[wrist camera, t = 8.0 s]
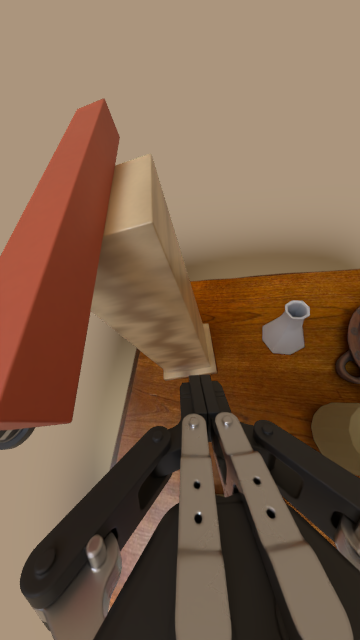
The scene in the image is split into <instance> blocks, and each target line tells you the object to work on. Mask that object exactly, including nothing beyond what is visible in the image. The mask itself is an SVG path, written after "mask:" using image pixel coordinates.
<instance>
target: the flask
mask: <svg viewBox="0 0 360 640" xmlns="http://www.w3.org/2000/svg"><path fill="white" fill-rule="evenodd" d="M308 316H310V309H309V306H308V305H307V304H305V303H304V302H303V301H291V302H289V303H287V304H286V305H285V312H284V313H283V314H282V315H281V316H280V317H279V318H277V319H275V320H273V321H271V322H270V323H268V324H266V325H264V326H263V338H262V340H263V341H264V343H265V344H266V345H267V346H268V348H269V349H270V350H271V351H272V353H280V354H289V355H291V354H292V353H294V352H296V351H298V350H300V349H301V348H303V347H304V335H303V328H302V324H303V320H304V319H305V318H307V317H308Z"/></svg>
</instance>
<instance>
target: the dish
mask: <svg viewBox="0 0 360 640" xmlns="http://www.w3.org/2000/svg"><path fill="white" fill-rule="evenodd" d="M347 338H348V345H349V350H348V351H347V352H346V353H345V354H343V355H342V356H341V357H340V358H339V359H338V360H337V362H336V371H337V373H338V374H339V375H340V376H341V377H342V378H343V379H345V380H346V381H349V382H351V383H356V384H360V377H354V376H351V375H350V374H349V373H347V371H346V370H345V364H346V363H347V362H348V361H353V362H354V363H355V364H356V365H357V366H358V367H359V369H360V306H359V307H358V308H357V309H356V311H355V312H354V313H353V315H352V317H351V319H350V322H349V326H348V336H347Z"/></svg>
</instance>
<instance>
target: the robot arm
mask: <svg viewBox="0 0 360 640" xmlns="http://www.w3.org/2000/svg"><path fill="white" fill-rule="evenodd" d="M180 405H181V421H180V422H179V424H178V425H176V426H175V427H173V428H170V429H167V428H165V427H163V426H156V427H153V428H151V429H150V430H149V431H148V432H147V433H146V434H145V435H144V436H143V437H142V438H141V439H140V440H139V441H138V442H137V443H136V444H135V445H134V446H133V447H132V448H131V449H130V450H129V451H128V452H127V453H126V454H125V455H124V456H123V458H122V459H121V460H120V461H119V462H118V463H117V464H116V465H115V466H114V467H113V468H112V469H111V470H110V471H109V472H108V473H107V474H106V475H105V476H104V477H103V478H102V479H101V480H100V481H99V482H98V483H97V484H96V485H95V486H94V487H93V488H92V490H91V491H90V492H89V493H88V494H87V495H86V496H85V497H84V498H83V499H82V500H81V501H80V502H79V503H78V504H77V505H76V506H75V507H74V508H73V509H72V510H71V511H70V512H69V513H68V515H66V516H65V518H63V520H62V521H61V522H60V523H59V524H58V525H57V526H56V527H55V528H54V529H53V530H52V531H51V532H50V533H49V534H48V535H47V536H46V537H45V538H44V539H43V540H42V541H41V542H40V543H39V544H38V545H37V547H36V548H35V549H34V550H33V551H32V553H31V554H30V556H29V557H28V559H27V561H26V563H25V565H24V567H23V570H22V573H21V578H20V589H21V591H22V593H23V595H24V596H25V597H26V599H27V600H28V602H29V603H30V605H31V606H32V607H33V609H34V610H35V612H36V613H37V615H38V616H39V618H40V619H41V620H42V622H43V623H44V625H45V626H46V627H47V629H48V630H49V631H51V633H52V636H53V638H54V640H360V478H358V477H357V476H355V475H354V474H352V473H350V472H349V471H347V470H346V469H344V468H343V467H341V466H340V465H338V464H336V463H335V462H333V461H332V460H330V459H329V458H327V457H325V456H324V455H322V454H321V453H319V452H318V451H316V450H314V449H313V448H311V447H310V446H308V445H307V444H305V443H303V442H302V441H300V440H299V439H297V438H296V437H294V436H292V435H291V434H289V433H288V432H286V431H285V430H283V429H281V428H280V427H278V426H277V425H275V424H274V423H272V422H270V421H267V420H259V421H257V422H256V423H255V424H254V426H253V425H248V424H244V423H241V422H239V420H238V418H237V417H236V416H235V415H233V414H232V413H231V410H230V407H229V405H228V402H227V399H226V397H225V394H224V391H223V388H222V386H221V385H220V384H219V383H218V382H217V381H211V378H210V375H209V374H206V375H189V382H187V383H182V385H181V387H180ZM22 430H23V429H14V430H0V443H5V442H9V441H11V440H12V439H14V438H15V437H16V436H18V435H19V434H20V432H21V431H22ZM208 442H212V446H213V450H214V457H215V461H216V465H217V468H218V472H219V475H220V479H221V482H222V486H223V490H224V497H223V496H219V495H215V489H214V480H213V471H212V462H211V456H210V455H209V446H208ZM179 469H180V495H179V503H178V504H176V505H175V506H173V507H172V508H171V509H170V510H169V511H168V512H167V513H166V514H165V515H164V517H163V518H162V519H161V521H160V523H159V524H158V526H157V528H156V530H155V531H154V533H153V535H152V537H151V538H150V540H149V542H148V544H147V546H146V547H145V549H144V551H143V553H142V554H141V556H140V558H139V560H138V561H137V563H136V565H135V567H134V568H133V570H132V572H131V574H130V575H129V577H128V579H127V581H126V582H125V584H124V586H123V588H122V589H121V591H120V593H119V595H118V596H117V598H116V600H115V602H114V603H113V605H112V607H111V609H110V610H109V612H108V608H109V602H110V599H111V596H112V593H113V591H114V589H115V587H116V585H117V582H118V580H119V577H120V574H121V569H122V558H121V553H120V551H121V550H122V548H123V547H124V545H125V544H126V542H127V541H128V539H129V538H130V536H131V535H132V533H133V532H134V530H135V529H136V528H137V526H138V525H139V523H140V522H141V520H142V519H143V517H144V516H145V514H146V513H147V511H148V510H149V508H150V507H151V505H152V504H153V503H154V501H155V500H156V498H157V497H158V495H159V494H160V492H161V491H162V489H163V488H164V486H165V485H166V483H167V482H168V480H169V479H170V477H171V475H172V472H175V471H177V470H179ZM281 495H282V496H283V497H284V498H285V499H286V500H287V501H288V502H289V503H291V504H292V505H293V506H294V507H295V508H296V509H297V510H299V511H300V512H301V513H302V514H303V515H304V516H305V517H307V518H308V519H309V520H310V521H311V522H312V523H313V524H314V525H316V526H317V527H318V528H319V529H320V530H321V531H322V532H324V533H325V534H326V535H327V536H328V537H329V538H330V539H332V540H333V541H334V542H335V544H336V547H337V549H338V550H337V549H336V548H335V547H334V546H333V545H332V544H330V543H329V542H328V541H327V540H326V539H325V538H324V537H323V536H322V535H321V534H320V533H319V532H318V531H317V530H315V529H314V528H313V527H312V526H311V525H310V524H309V523H308V522H307V521H306V520H305V519H304V518H303V517H302V516H300V515H299V514H298V513H297V512H296V511H295V510H294V509H293V508H291V507H290V506H289V505H287V504H286V503H285V502H284V500H283V498H282V496H281Z"/></svg>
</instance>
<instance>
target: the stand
mask: <svg viewBox="0 0 360 640" xmlns="http://www.w3.org/2000/svg"><path fill="white" fill-rule="evenodd" d="M91 312H93V313H94V314H95V315H97V317H99V318H100V319H101V320H103V321H104V322H105V323H106V324H108V325H109V326H110V327H112V328H113V329H114V330H115V331H116V332H118V333H119V334H120V335H121V336H123V337H124V338H125V339H126V340H128V341H129V342H130V343H131V344H133V345H134V346H135V347H136V348H138V349H139V350H140V351H141V352H143V353H144V354H145V355H146V356H148V357H149V358H150V359H151V360H153V361H154V362H155V363H156V364H158V365H159V366H160V367H161V368H163V371H164V380H173V379H180V378H188V377H189V375H206V374H216V373H217V369H216V363H215V358H214V352H213V346H212V341H211V335H210V330H209V324H208V323H207V324H203V323H202V320H201V317H200V313H199V310H198V307H197V303H196V300H195V297H194V294H193V290H192V287H191V284H190V280H189V277H188V274H187V270H186V267H185V264H184V260H183V257H182V254H181V251H180V247H179V244H178V241H177V237H176V234H175V231H174V228H173V224H172V221H171V218H170V214H169V211H168V208H167V205H166V201H165V198H164V195H163V191H162V188H161V184H160V181H159V178H158V175H157V171H156V168H155V165H154V161H153V158H152V155H151V154H148V155H145V156H142V157H139V158H136V159H133V160H130V161H127V162H125V163H122V164H119V165H116V166H115V168H114V174H113V180H112V186H111V192H110V198H109V204H108V210H107V216H106V222H105V228H104V234H103V239H102V245H101V251H100V257H99V263H98V269H97V275H96V281H95V287H94V293H93V299H92V305H91Z"/></svg>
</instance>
